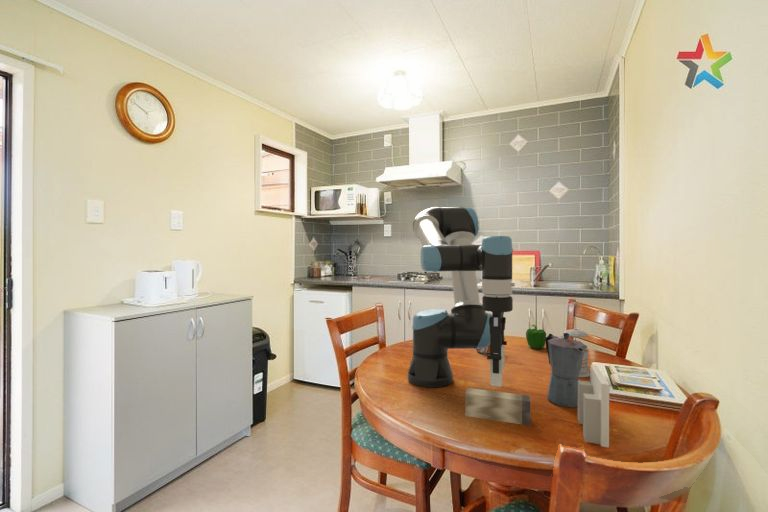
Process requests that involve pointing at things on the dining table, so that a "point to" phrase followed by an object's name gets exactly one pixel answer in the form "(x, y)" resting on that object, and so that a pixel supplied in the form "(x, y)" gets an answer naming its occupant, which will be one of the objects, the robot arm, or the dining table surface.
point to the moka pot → (564, 369)
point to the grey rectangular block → (498, 406)
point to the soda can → (484, 349)
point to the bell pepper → (536, 338)
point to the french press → (582, 334)
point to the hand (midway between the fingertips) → (497, 376)
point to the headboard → (594, 407)
